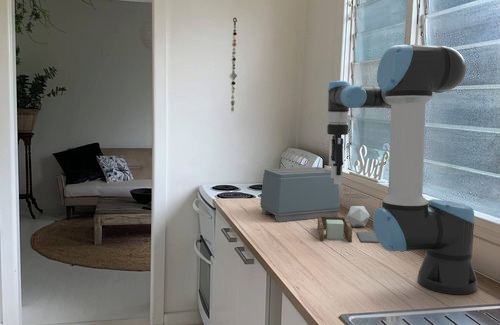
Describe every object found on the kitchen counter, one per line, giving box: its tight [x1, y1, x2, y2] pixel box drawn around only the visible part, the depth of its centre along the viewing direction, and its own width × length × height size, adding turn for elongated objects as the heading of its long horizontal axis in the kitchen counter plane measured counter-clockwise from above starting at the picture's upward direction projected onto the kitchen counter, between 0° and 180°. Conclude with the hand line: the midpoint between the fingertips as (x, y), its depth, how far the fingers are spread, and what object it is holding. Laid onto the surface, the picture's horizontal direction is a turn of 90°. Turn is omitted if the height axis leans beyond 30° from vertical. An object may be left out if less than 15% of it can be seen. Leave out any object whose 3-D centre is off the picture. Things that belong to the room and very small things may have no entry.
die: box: [346, 205, 371, 228], centre depth 192 cm, size 8×9×10 cm
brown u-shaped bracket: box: [317, 216, 353, 243], centre depth 178 cm, size 18×11×5 cm, turn 175°
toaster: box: [259, 166, 341, 223], centre depth 210 cm, size 19×35×20 cm, turn 113°
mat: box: [356, 231, 380, 244], centre depth 174 cm, size 12×12×1 cm
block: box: [325, 220, 345, 241], centre depth 175 cm, size 6×6×6 cm
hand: (336, 181), depth 173 cm, fingers open, 13 cm apart
